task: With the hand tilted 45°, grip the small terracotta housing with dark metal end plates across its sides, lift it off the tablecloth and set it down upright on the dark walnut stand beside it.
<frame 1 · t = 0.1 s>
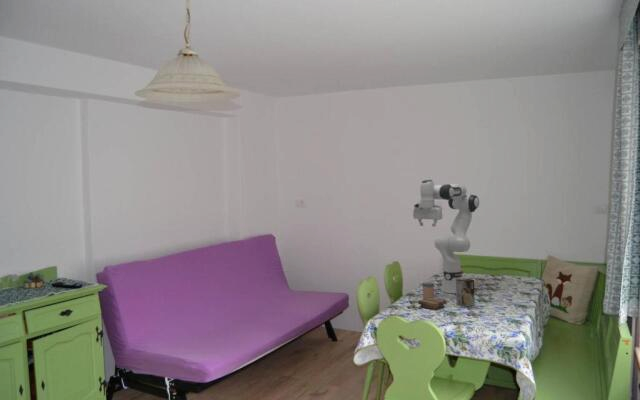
hand: (427, 226, 326), 48 cm above the table, tool pointing down, fingers open, 8 cm apart
coffee box: (465, 305, 310), on the table
housing: (428, 301, 320), on the table
walnut stand: (432, 307, 307), on the table
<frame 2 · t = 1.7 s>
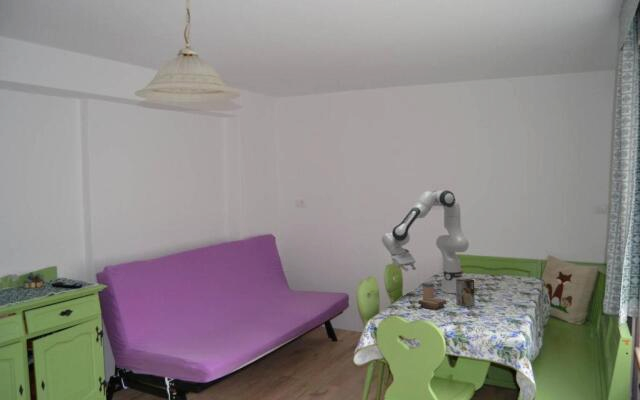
hand: (411, 270, 328), 19 cm above the table, tool tilted 45°, fingers open, 8 cm apart
nothing on the table moved.
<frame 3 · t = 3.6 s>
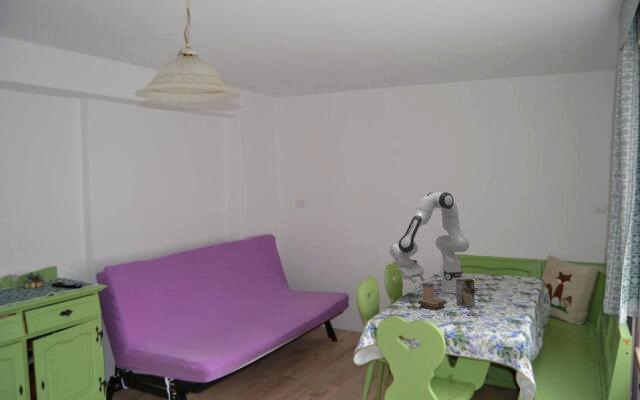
hand: (419, 281, 325), 12 cm above the table, tool tilted 45°, fingers open, 8 cm apart
nothing on the table moved.
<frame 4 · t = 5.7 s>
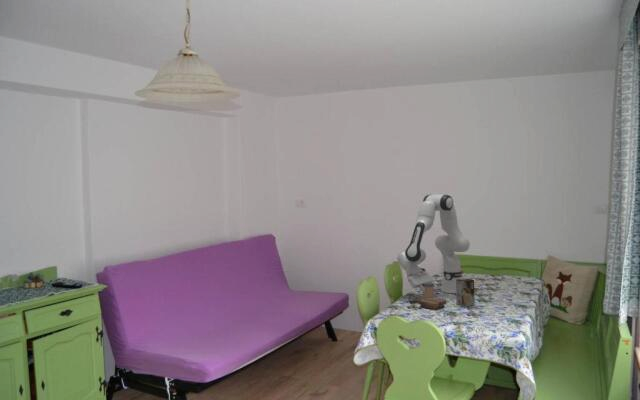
hand: (427, 290, 320), 7 cm above the table, tool tilted 45°, fingers closed on housing, 5 cm apart
housing: (428, 301, 320), on the table, touching gripper
everything else where it was.
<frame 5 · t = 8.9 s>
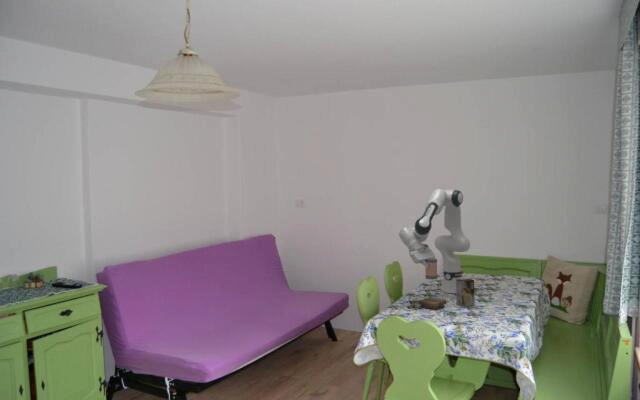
hand: (430, 266, 307), 25 cm above the table, tool tilted 45°, fingers closed on housing, 5 cm apart
housing: (431, 278, 307), point 18 cm above the table, touching gripper
everything else where it was.
when the fingers open (13 cm above the table, at t = 12.2 s): housing drops 1 cm, resting on walnut stand.
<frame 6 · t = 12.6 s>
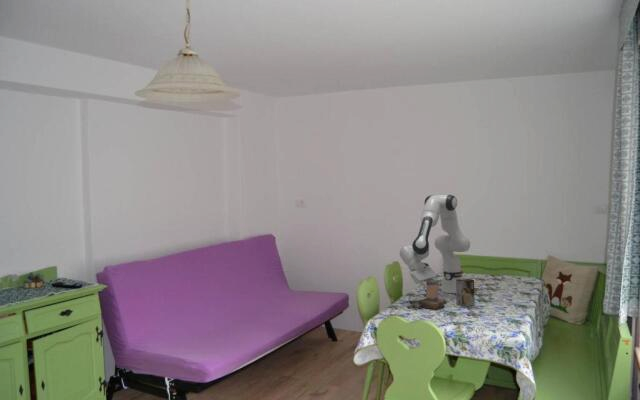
hand: (431, 286, 307), 13 cm above the table, tool tilted 45°, fingers open, 8 cm apart
housing: (432, 300, 307), point 4 cm above the table, touching walnut stand
everything else where it was.
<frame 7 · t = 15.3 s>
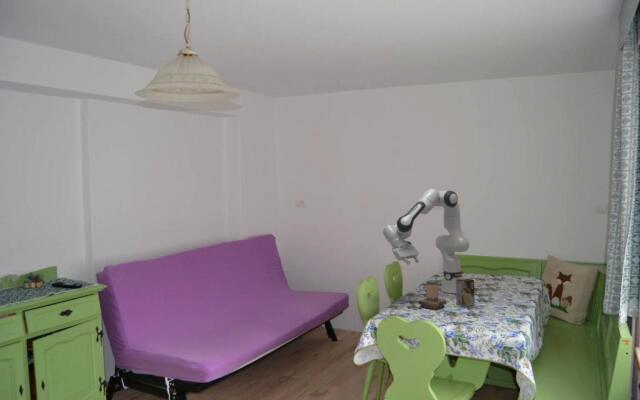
hand: (413, 263, 315), 26 cm above the table, tool tilted 45°, fingers open, 8 cm apart
nothing on the table moved.
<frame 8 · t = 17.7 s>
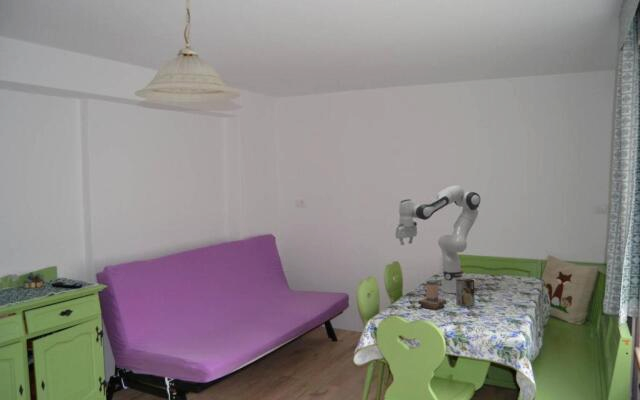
hand: (406, 244, 337), 35 cm above the table, tool pointing down, fingers open, 8 cm apart
nothing on the table moved.
at the end: housing inside the target area on the walnut stand (0.1 cm from its centre), point 4.0 cm above the walnut stand's base; housing tilted 0°; the gripper is holding nothing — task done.
